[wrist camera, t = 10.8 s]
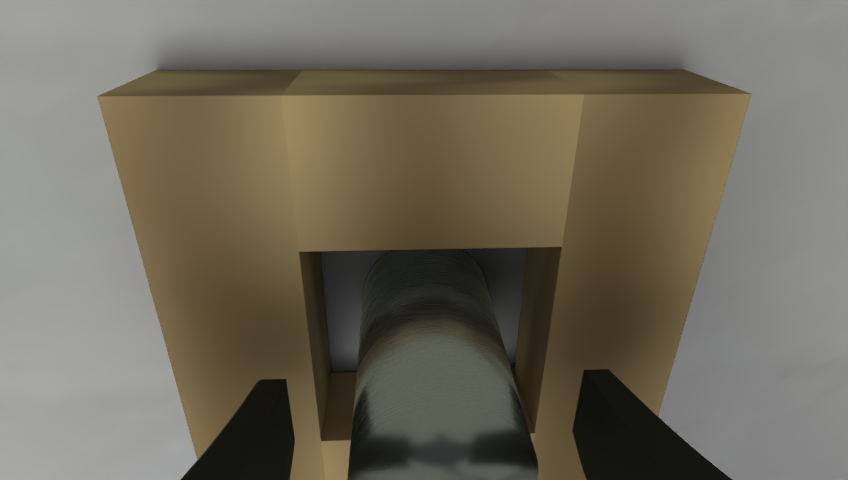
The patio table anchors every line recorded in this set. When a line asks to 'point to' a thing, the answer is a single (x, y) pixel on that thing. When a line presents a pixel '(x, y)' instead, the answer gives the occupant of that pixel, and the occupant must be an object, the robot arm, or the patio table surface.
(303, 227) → the socket block
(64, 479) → the patio table surface
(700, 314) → the patio table surface
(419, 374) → the grey rounded piece
